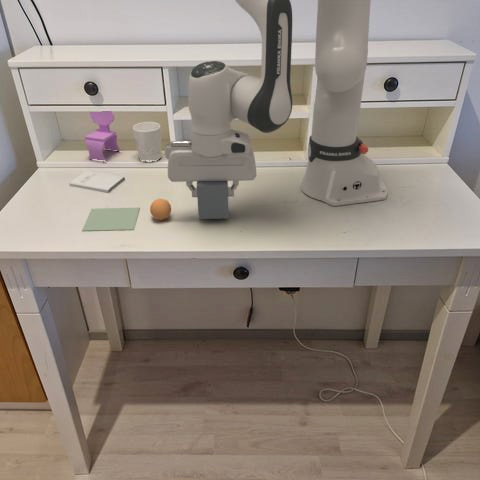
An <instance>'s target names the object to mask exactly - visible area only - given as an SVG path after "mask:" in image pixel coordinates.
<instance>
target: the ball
mask: <svg viewBox="0 0 480 480" xmlns="http://www.w3.org/2000/svg"><path fill="white" fill-rule="evenodd" d="M149 209H150V210H149V211H150V214H151V216H152V217H153V218H154V219H157V220H158V221H159V220H160V221H162V220H165V219H167V218H169V217H170V215H171V213H172V205H171V203H170V202H169V201H168V200H166V199H164V198H157V199H154V200H153V201H152V202H151V204H150V207H149Z"/></svg>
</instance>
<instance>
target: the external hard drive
mask: <svg viewBox="0 0 480 480" xmlns="http://www.w3.org/2000/svg"><path fill="white" fill-rule="evenodd" d="M125 181H126V179H125V176H119V175H115V174H108V173H103V172H96V171H89V170H84V171H83V172H82V173H81V174H80V175H78V176H76V177H75V178H74V179H72V180H71V181H70V182H68V184H69V186H70V187H74V188H80V189H84V190H89V191H96V192H102V193H106V194H110V193H111V192H112V191H113V190H115V189H116V188H117V187H118V186H119V185H121V184H122V183H124V182H125Z"/></svg>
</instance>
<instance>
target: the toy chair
mask: <svg viewBox="0 0 480 480" xmlns="http://www.w3.org/2000/svg"><path fill="white" fill-rule="evenodd" d="M89 116H90V119H91V120H92V122H93V123H94V124H96V125H98V127H99V128H97V129H95V130H94V131H93V132H90V133H89V134H87V135H85V137H84V138H85V145H86V147H87V149H88V150H87V151H88V153H89V159H97V160H105V161H106V160H107V159H106V158H105V155H104V154H103V153H104V152H103V150H104V148H105V149H111V150H117V151H122V150H121V149H120V147H119V146H118V142H117V141H118V139H117V138H118V135H117V132H116V131H115V130H114V131H113V130H110V129H111V128H110V125H111V124H112V123H113V122H114V120H115V114H114V112H113V111H112V110H111V111H102V112H90V111H89Z"/></svg>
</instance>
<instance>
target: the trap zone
mask: <svg viewBox="0 0 480 480" xmlns="http://www.w3.org/2000/svg"><path fill="white" fill-rule="evenodd" d="M140 209H141V208H140V207H112V208H111V207H106V208H103V207H102V208H101V207H100V208H91V209H90V211H89V213H88V215H87V219H85V220H86V221H85V222H84V225H83V227H82V230H81V232H103V231H104V232H107V231H108V232H109V231H113V232H115V231H134V230H135V226H136V223H137V220H138V215H139V213H140Z"/></svg>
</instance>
